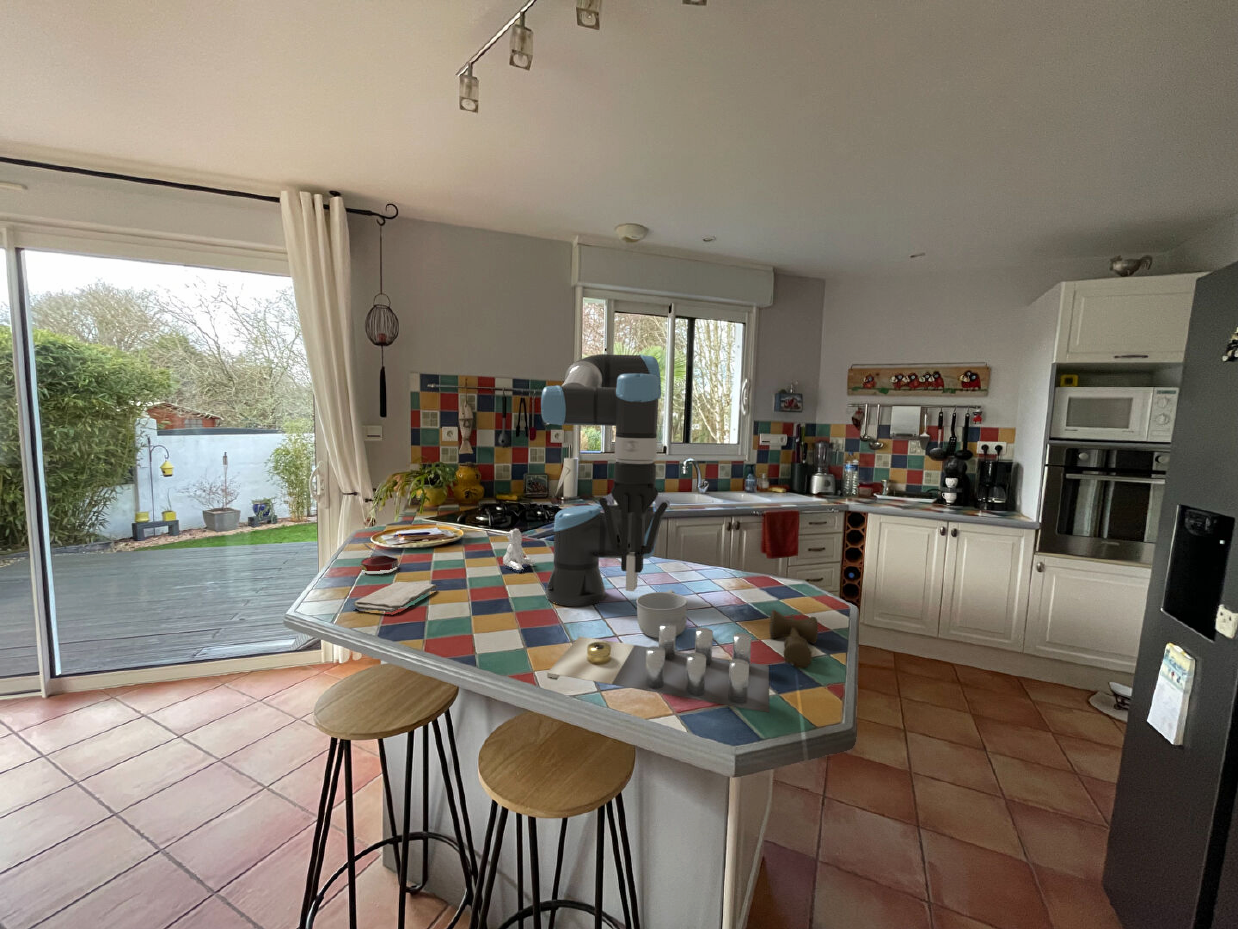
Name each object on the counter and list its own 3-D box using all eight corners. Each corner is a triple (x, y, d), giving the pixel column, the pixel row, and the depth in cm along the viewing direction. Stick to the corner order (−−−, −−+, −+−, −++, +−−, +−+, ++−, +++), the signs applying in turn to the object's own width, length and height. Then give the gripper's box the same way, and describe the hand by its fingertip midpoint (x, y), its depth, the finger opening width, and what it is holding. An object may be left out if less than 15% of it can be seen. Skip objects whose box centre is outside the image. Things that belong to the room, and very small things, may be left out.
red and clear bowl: (367, 582, 153) (369, 549, 156) (402, 578, 154) (403, 546, 157) (352, 575, 142) (354, 540, 146) (389, 571, 143) (390, 536, 147)
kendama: (770, 667, 98) (768, 624, 117) (823, 676, 96) (812, 631, 115) (772, 638, 97) (770, 599, 116) (826, 646, 95) (815, 606, 114)
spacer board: (547, 677, 91) (547, 672, 91) (578, 640, 106) (579, 636, 106) (768, 717, 80) (768, 712, 80) (768, 669, 96) (768, 665, 96)
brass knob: (585, 664, 94) (586, 651, 94) (588, 653, 99) (588, 641, 98) (609, 665, 94) (609, 652, 94) (611, 654, 98) (611, 642, 98)
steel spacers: (643, 687, 87) (644, 653, 86) (660, 651, 100) (661, 621, 100) (747, 705, 82) (748, 669, 82) (749, 665, 96) (751, 634, 95)
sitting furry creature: (519, 574, 149) (520, 533, 148) (494, 570, 153) (495, 530, 151) (536, 565, 158) (536, 527, 157) (512, 562, 161) (512, 524, 160)
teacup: (672, 650, 103) (673, 612, 102) (626, 637, 108) (627, 600, 108) (699, 627, 114) (700, 593, 114) (656, 616, 120) (657, 583, 119)
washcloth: (349, 613, 118) (349, 600, 118) (397, 588, 136) (397, 577, 135) (396, 619, 116) (395, 605, 116) (438, 592, 133) (438, 581, 133)
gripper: (594, 461, 90) (591, 590, 92) (667, 465, 86) (662, 600, 88) (607, 457, 97) (604, 578, 99) (674, 461, 93) (670, 586, 96)
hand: (631, 588), depth 94 cm, fingers closed
